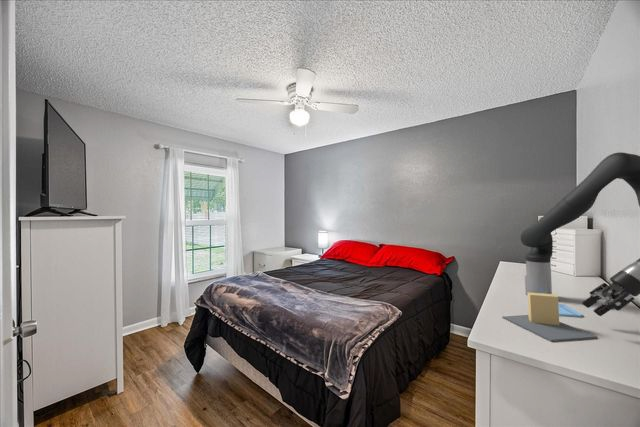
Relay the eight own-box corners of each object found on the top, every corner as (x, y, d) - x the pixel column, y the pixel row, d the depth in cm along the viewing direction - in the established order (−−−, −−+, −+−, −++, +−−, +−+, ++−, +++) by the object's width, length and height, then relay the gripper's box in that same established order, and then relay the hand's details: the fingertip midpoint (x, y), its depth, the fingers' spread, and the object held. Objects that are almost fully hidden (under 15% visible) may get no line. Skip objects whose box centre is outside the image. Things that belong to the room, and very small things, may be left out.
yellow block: (531, 322, 97) (530, 294, 97) (528, 318, 100) (527, 292, 101) (559, 325, 94) (558, 297, 94) (555, 321, 97) (554, 294, 97)
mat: (502, 318, 103) (502, 316, 103) (540, 315, 105) (540, 314, 105) (551, 341, 84) (550, 339, 84) (597, 338, 85) (597, 336, 85)
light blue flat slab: (584, 318, 101) (584, 315, 101) (546, 316, 105) (546, 313, 105) (564, 307, 114) (564, 304, 114) (531, 305, 118) (531, 302, 118)
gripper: (611, 266, 95) (571, 295, 99) (637, 274, 82) (589, 307, 86) (633, 282, 92) (590, 311, 97) (663, 293, 79) (612, 326, 84)
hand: (590, 309), depth 92 cm, fingers open, 8 cm apart
